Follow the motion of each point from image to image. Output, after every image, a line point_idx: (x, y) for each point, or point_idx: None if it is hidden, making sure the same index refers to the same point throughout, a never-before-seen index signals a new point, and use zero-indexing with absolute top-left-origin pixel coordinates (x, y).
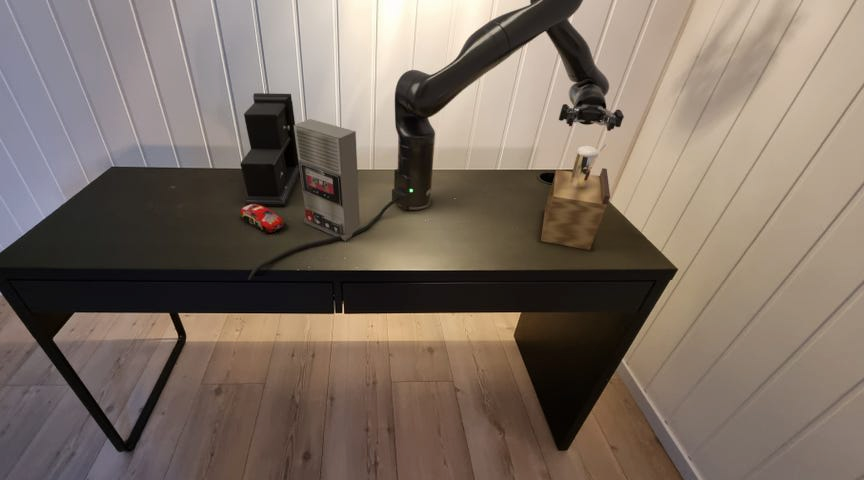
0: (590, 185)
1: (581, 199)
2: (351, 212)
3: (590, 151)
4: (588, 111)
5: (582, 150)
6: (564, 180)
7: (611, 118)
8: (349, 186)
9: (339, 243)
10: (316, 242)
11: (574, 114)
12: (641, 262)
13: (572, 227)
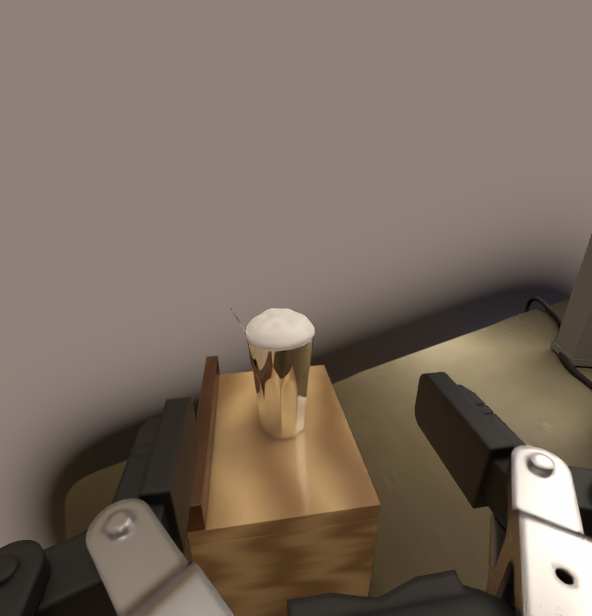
0: (244, 439)
1: None
2: (573, 321)
3: (273, 308)
4: (424, 605)
5: (296, 312)
6: (324, 436)
7: (161, 456)
8: (586, 279)
9: (550, 345)
10: None
11: (465, 420)
12: (117, 475)
13: None
